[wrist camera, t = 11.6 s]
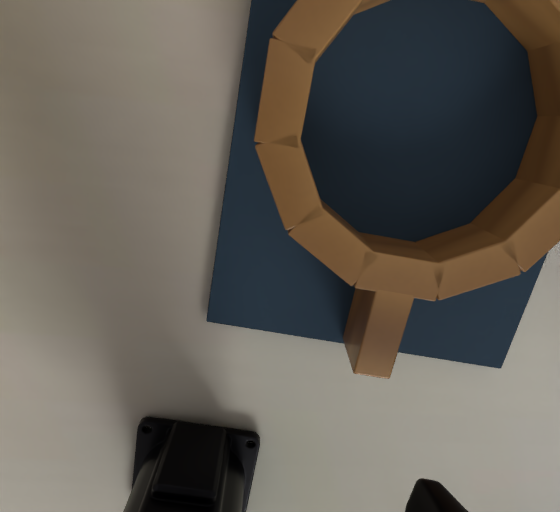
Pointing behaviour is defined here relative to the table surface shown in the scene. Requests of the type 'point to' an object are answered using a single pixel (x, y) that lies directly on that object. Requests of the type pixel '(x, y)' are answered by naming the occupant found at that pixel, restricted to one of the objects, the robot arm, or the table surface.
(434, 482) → the robot arm
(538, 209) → the hoop
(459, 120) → the mat
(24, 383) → the table surface
